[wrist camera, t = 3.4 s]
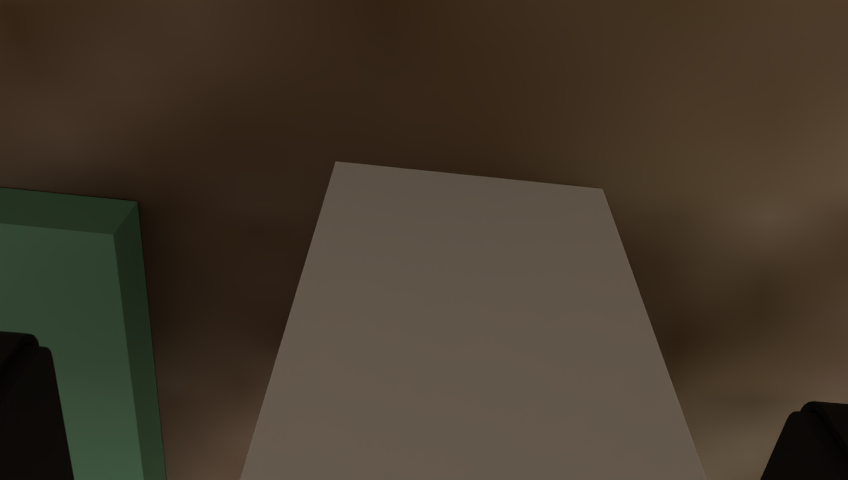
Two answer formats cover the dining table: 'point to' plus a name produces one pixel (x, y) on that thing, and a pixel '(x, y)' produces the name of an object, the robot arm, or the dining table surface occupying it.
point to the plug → (467, 341)
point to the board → (87, 323)
